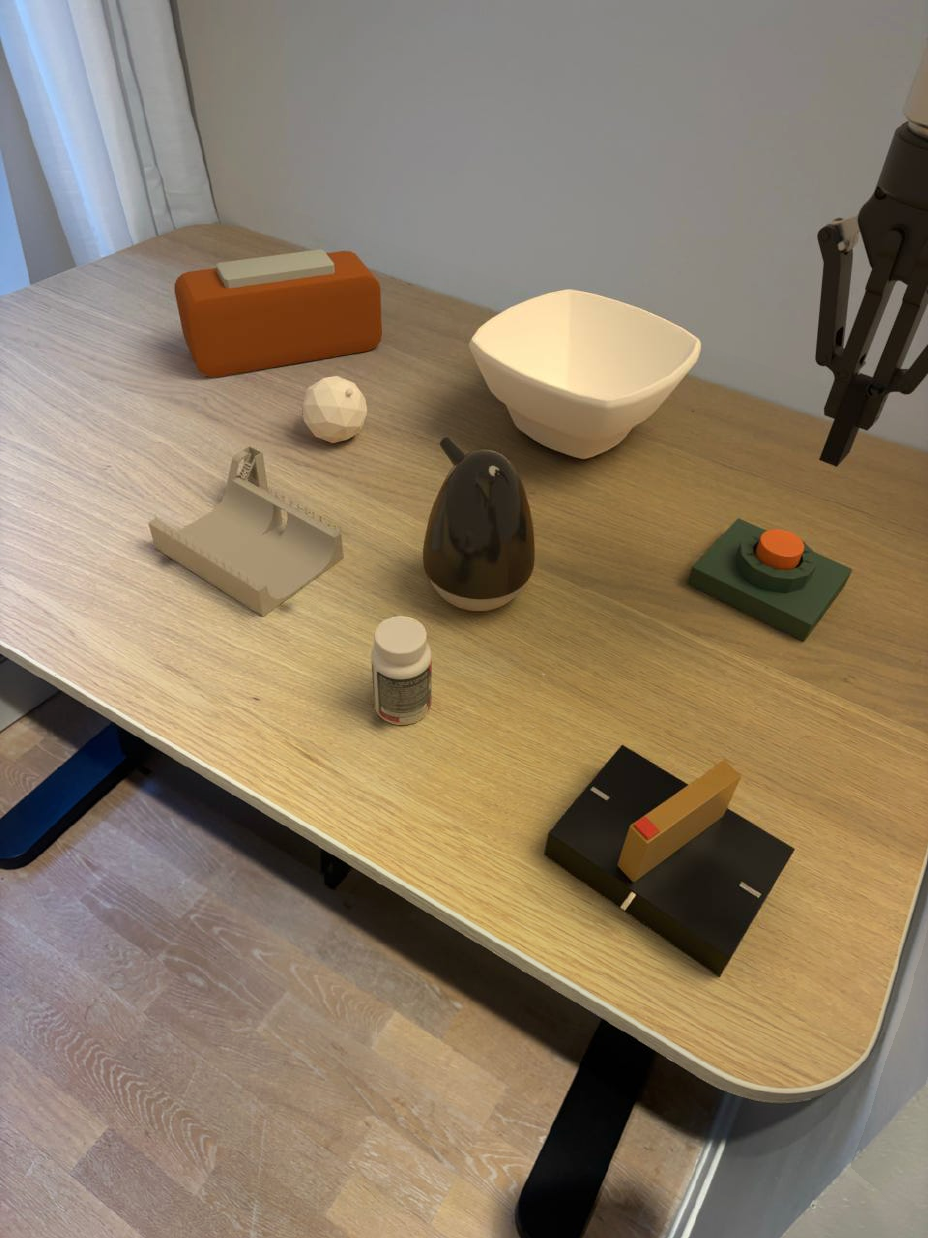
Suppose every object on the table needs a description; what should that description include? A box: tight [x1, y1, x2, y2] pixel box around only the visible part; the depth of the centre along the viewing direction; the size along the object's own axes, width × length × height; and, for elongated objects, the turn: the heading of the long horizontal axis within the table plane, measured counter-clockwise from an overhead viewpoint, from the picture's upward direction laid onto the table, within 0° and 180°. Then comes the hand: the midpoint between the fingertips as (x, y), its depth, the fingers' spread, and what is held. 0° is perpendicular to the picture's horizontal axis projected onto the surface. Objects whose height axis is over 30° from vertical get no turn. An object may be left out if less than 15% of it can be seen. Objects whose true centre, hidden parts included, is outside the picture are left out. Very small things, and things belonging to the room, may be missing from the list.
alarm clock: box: [173, 248, 383, 378], centre depth 110 cm, size 24×8×11 cm, turn 114°
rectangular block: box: [618, 760, 742, 882], centre depth 59 cm, size 9×2×5 cm, turn 126°
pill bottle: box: [370, 615, 433, 726], centre depth 69 cm, size 5×5×8 cm
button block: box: [686, 517, 853, 642], centre depth 83 cm, size 12×10×4 cm
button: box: [756, 528, 804, 570], centre depth 81 cm, size 4×4×2 cm
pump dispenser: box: [422, 436, 536, 612], centre depth 77 cm, size 10×10×15 cm
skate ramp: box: [147, 445, 344, 617], centre depth 84 cm, size 15×13×5 cm
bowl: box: [468, 288, 702, 460], centre depth 98 cm, size 22×22×12 cm
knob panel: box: [543, 744, 796, 978], centre depth 62 cm, size 14×13×3 cm
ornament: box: [301, 375, 368, 444], centre depth 97 cm, size 7×7×8 cm
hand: (834, 455), depth 70 cm, fingers closed
